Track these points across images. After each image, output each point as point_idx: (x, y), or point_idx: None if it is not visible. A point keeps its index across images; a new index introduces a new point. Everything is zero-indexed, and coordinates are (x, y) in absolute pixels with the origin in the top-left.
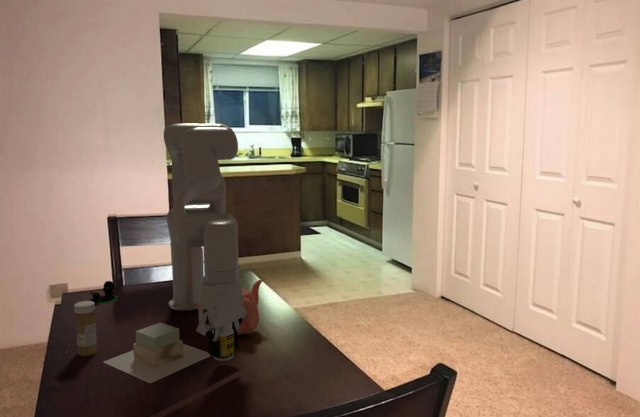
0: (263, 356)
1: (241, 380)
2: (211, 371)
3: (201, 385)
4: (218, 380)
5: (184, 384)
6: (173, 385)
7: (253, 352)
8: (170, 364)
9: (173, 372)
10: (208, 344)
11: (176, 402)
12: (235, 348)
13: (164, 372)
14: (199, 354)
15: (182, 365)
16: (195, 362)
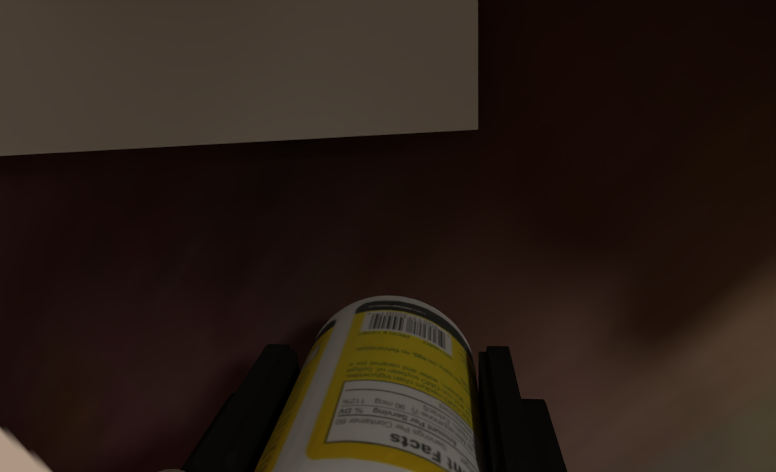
0: (703, 376)
1: None
2: (331, 271)
3: (194, 351)
4: None
5: (130, 273)
6: (78, 235)
7: (731, 282)
8: (135, 6)
9: (100, 146)
10: (230, 400)
11: (27, 379)
12: None
13: (51, 95)
14: (404, 31)
15: (196, 100)
16: (291, 137)
